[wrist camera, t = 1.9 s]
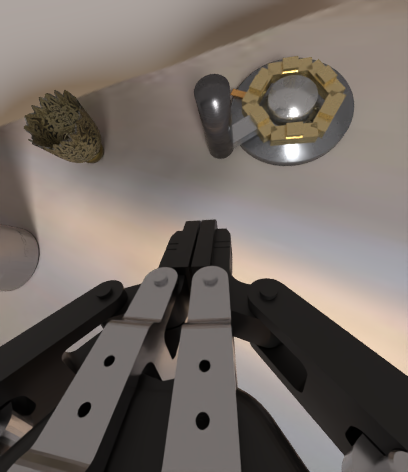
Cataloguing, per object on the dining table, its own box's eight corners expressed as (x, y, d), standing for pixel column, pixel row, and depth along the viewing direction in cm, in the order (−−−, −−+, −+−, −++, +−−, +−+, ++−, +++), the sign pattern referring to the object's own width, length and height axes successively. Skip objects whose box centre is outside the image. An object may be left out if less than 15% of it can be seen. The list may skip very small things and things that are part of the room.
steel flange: (268, 187, 28) (272, 176, 25) (211, 104, 31) (208, 86, 28) (376, 123, 27) (393, 105, 24) (304, 45, 30) (311, 21, 27)
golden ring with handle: (234, 190, 27) (229, 149, 18) (189, 120, 30) (167, 56, 21) (359, 116, 26) (418, 34, 17) (300, 51, 29) (325, -47, 20)
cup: (68, 145, 34) (17, 107, 27) (108, 124, 34) (69, 78, 26) (80, 185, 33) (29, 156, 25) (123, 163, 32) (85, 127, 24)
